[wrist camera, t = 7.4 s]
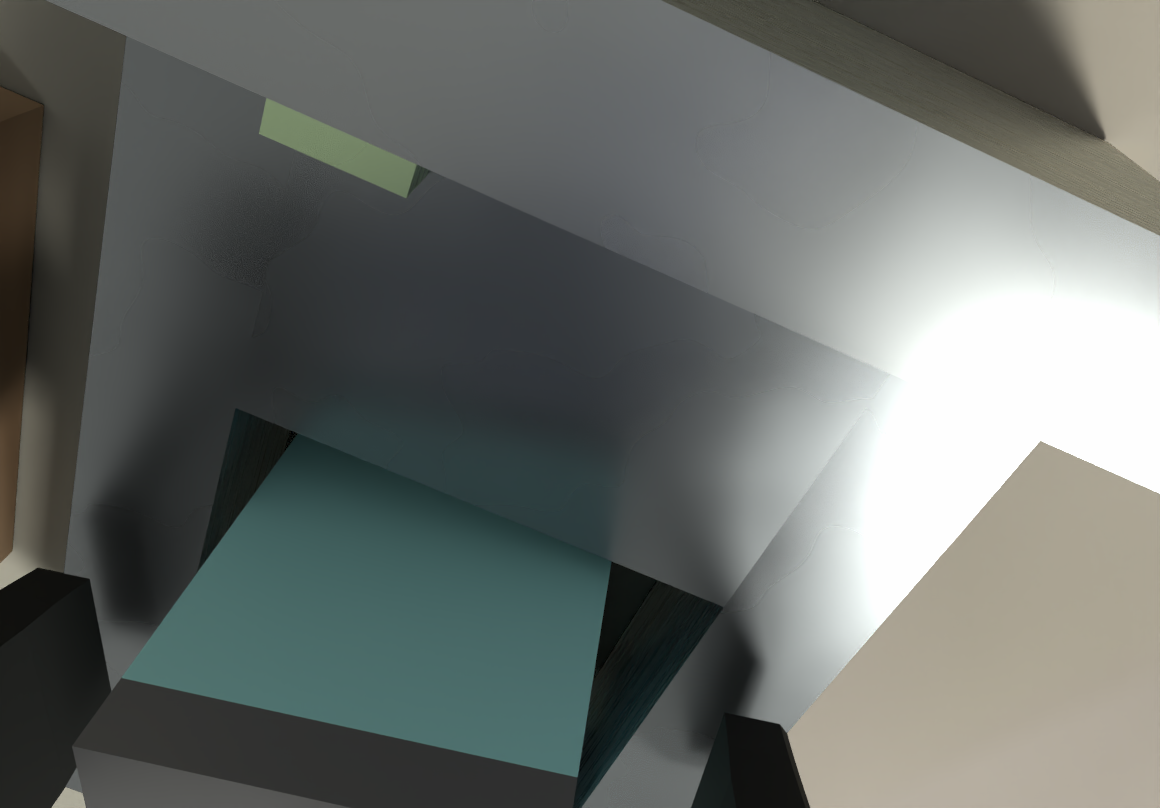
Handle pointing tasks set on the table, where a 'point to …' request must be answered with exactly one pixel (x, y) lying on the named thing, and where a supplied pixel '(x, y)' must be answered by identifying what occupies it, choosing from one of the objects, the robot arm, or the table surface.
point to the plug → (359, 657)
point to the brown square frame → (15, 282)
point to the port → (605, 314)
